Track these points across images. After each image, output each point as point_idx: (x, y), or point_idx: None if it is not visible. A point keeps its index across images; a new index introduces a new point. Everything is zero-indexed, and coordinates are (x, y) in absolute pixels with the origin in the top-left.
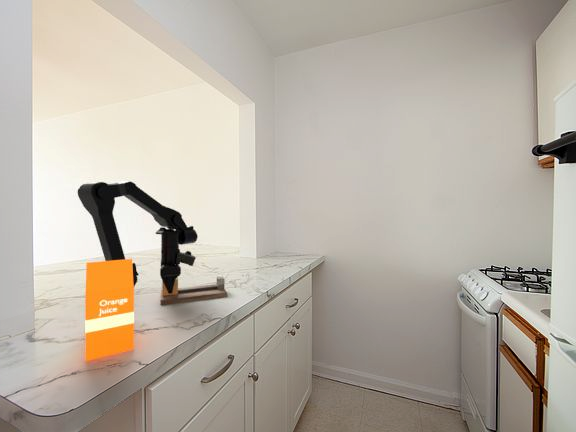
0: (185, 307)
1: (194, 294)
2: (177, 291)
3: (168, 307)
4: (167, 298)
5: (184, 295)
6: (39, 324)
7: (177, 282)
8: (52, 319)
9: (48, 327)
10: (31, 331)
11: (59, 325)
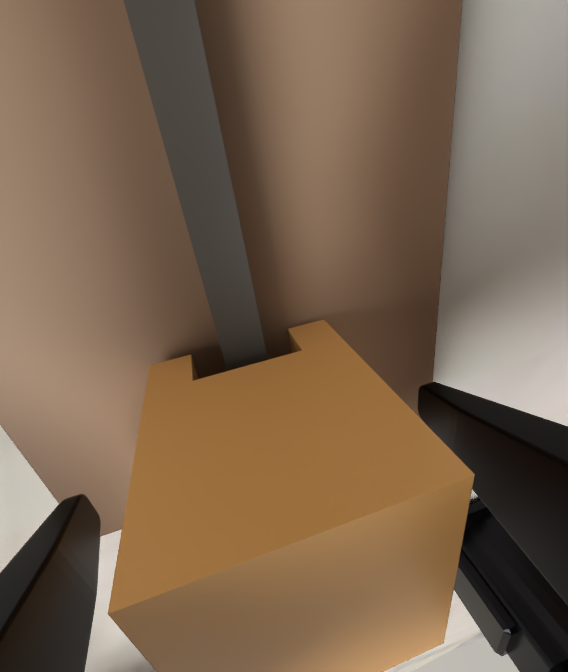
0: (558, 179)
1: (373, 56)
2: (337, 340)
3: (483, 327)
4: (401, 387)
5: (367, 225)
6: (429, 661)
7: (423, 429)
8: (400, 665)
9: (466, 629)
10: (473, 639)
11: (465, 619)
